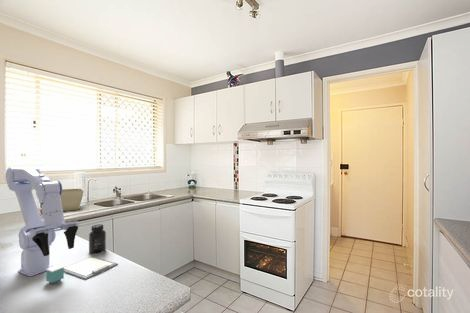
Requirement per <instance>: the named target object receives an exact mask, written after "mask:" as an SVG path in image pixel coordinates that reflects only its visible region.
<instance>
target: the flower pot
mask: <svg viewBox="0 0 470 313" xmlns="http://www.w3.org/2000/svg"><path fill="white" fill-rule="evenodd" d="M84 191H85V190H84V189H82V188H65V189H63V188H62V194H61V195H60V197H61V203H62V209H63V212H69V211H79V209H80V206H81V203H82V200H83V196H84Z"/></svg>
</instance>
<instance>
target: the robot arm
mask: <svg viewBox="0 0 470 313" xmlns="http://www.w3.org/2000/svg"><path fill="white" fill-rule="evenodd" d="M5 182H6V184H7V187H8V189H9V191H12V192H14V193H15V196H16V198H17V199H16V200H17V201H18V206H19V208H20V211H21V214H22V215H21V216H22V218H23V221H24V226H23V227H22V228H21V229H20V230H19V232H18V244H19V248H20V249H21V250H22V251H21V254H20V269H17V272H19V273H20V274H23V275H26V276H28V277H33V276H36V275H39V274H41V273H44V272H46V269H48V268H51V267H53V266H54V265H52V264H50V259H51V258H50V256H51V254H50V248H51V247H50V246H52V244H53V243H54V242H55V239H56V236H57V235H56V232H58V231H63V234H64V236H65V239H66V244H67V249H68V250H71V249H73V248H74V247H75V240H76V234H77V232H78V230H79V226H80V224H79V221H78V220H77V221H69V222H66V220H65V215H64V211H63V209H62V203H61V197H60V195H61V194H62V189H63V185H62V183H61V182H60V181H59V180H56V181H53V180H52V179H51V178H50V177H48V176H46V175H45V174H44V173H42V174H41V170H40V168H39V167H38V166H32V167H31V166H29V167H27V166H26V167H24V166H23V167H11V166H10V167H8V168H7V169H6V170H5ZM33 190H34V191H35V195H36V198H37V199H38V202H39V204H40V205H41V211H42V217H41V215H40V213H39V212H40V211H39V209H38V205H37V202H36V201H35V197H34V195H33ZM42 218H43V220H42Z"/></svg>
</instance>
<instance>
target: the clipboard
mask: <svg viewBox="0 0 470 313" xmlns="http://www.w3.org/2000/svg"><path fill="white" fill-rule="evenodd" d="M116 266H118V263H117V262H112V261H109V260H106V259H103V258H99V257H97V256H91V257H87V258H85V259H83V260H80V261H78V262H75V263H72V264H70V265H67V266H63V267H64V273H66V274H68V275H71V276H74V277H76V278H79V279H81V280H85V281H86V280H88V279H90V278H93V277H95V276H96V275H97V276H98V275H99V274H101V273H102V272H105V271H107V270H109V269H112V268H114V267H116Z"/></svg>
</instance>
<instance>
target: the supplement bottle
mask: <svg viewBox="0 0 470 313" xmlns="http://www.w3.org/2000/svg"><path fill="white" fill-rule="evenodd" d="M90 230H91V231H90V232H89V234H88V252H89V253H90V254H92V255H93V254H94V255H95V254H100V253H103V252H105V250H107V247H106V246H107V232H106V230H104V224H102V223H101V224H94V225H92V226H91V229H90Z"/></svg>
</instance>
